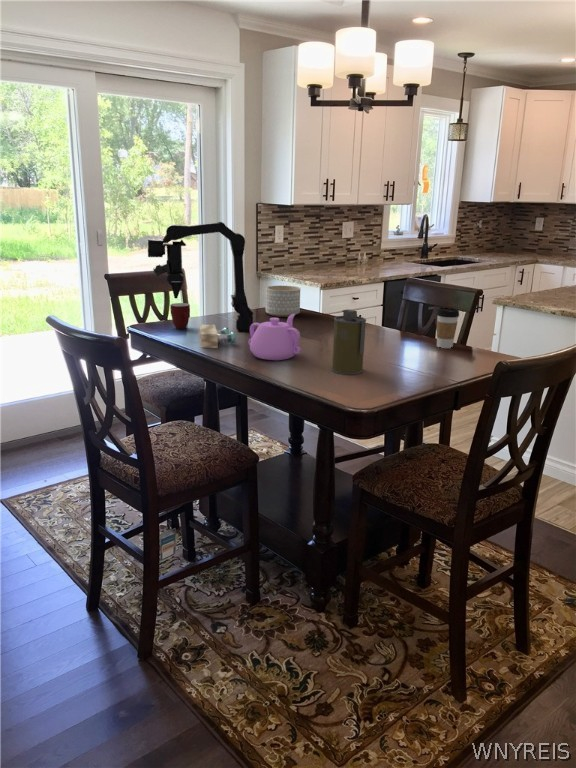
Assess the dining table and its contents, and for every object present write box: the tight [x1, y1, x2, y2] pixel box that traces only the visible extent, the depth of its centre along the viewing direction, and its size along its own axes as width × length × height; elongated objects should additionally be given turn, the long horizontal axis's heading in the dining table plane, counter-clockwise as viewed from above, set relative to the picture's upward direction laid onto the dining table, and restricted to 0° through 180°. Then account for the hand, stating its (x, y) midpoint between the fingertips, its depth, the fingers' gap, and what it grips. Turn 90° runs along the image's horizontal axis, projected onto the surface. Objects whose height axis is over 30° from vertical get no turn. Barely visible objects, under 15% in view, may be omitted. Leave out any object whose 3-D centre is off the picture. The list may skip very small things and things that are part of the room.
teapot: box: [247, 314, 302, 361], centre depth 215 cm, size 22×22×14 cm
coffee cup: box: [436, 306, 460, 349], centre depth 232 cm, size 8×8×15 cm
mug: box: [169, 302, 191, 330], centre depth 253 cm, size 10×8×10 cm
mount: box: [198, 324, 219, 349], centre depth 231 cm, size 6×17×5 cm, turn 10°
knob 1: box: [216, 327, 230, 334], centre depth 236 cm, size 8×4×4 cm, turn 100°
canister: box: [331, 308, 367, 376], centre depth 197 cm, size 11×10×20 cm
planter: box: [265, 284, 301, 318], centre depth 288 cm, size 16×16×13 cm
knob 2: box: [218, 331, 237, 344], centre depth 229 cm, size 10×4×4 cm, turn 100°
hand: (175, 296), depth 244 cm, fingers open, 9 cm apart
